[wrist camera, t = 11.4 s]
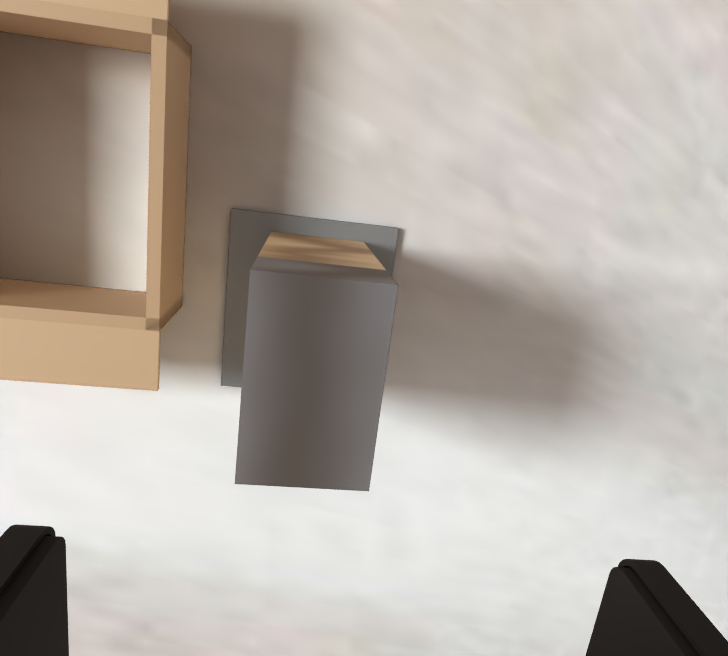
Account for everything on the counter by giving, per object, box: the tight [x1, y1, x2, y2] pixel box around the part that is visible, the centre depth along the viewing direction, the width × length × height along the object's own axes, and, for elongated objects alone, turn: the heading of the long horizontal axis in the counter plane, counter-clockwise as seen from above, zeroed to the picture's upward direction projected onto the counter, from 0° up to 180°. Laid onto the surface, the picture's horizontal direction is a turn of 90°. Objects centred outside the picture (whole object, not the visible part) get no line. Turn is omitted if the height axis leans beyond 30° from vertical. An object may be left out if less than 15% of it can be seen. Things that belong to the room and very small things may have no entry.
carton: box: [0, 0, 191, 391], centre depth 26 cm, size 10×19×5 cm, turn 173°
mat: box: [221, 209, 398, 387], centre depth 31 cm, size 9×10×1 cm
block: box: [235, 231, 398, 491], centre depth 26 cm, size 5×8×12 cm, turn 173°
